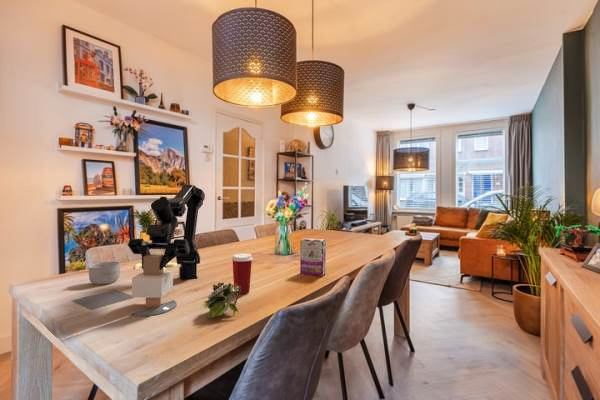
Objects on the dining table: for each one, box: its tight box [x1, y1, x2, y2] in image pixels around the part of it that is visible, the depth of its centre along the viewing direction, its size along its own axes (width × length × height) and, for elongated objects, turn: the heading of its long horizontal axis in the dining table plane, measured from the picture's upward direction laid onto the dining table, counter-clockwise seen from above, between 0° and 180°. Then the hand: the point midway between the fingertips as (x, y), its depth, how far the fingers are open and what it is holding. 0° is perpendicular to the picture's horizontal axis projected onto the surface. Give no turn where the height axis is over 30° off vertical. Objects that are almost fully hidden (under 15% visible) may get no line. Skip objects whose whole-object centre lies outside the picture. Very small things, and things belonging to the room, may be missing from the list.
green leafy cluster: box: [204, 282, 242, 320], centre depth 94 cm, size 11×11×12 cm
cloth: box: [133, 261, 179, 271], centre depth 149 cm, size 22×19×6 cm
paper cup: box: [231, 253, 253, 296], centre depth 113 cm, size 8×8×14 cm
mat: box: [71, 289, 136, 311], centre depth 103 cm, size 14×14×1 cm
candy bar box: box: [299, 237, 327, 277], centre depth 141 cm, size 11×5×16 cm, turn 69°
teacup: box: [87, 260, 121, 286], centre depth 122 cm, size 14×11×8 cm
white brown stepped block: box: [131, 254, 174, 299], centre depth 97 cm, size 9×9×12 cm
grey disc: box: [131, 298, 178, 317], centre depth 98 cm, size 14×14×4 cm
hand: (151, 268), depth 96 cm, fingers closed on white brown stepped block, 5 cm apart
